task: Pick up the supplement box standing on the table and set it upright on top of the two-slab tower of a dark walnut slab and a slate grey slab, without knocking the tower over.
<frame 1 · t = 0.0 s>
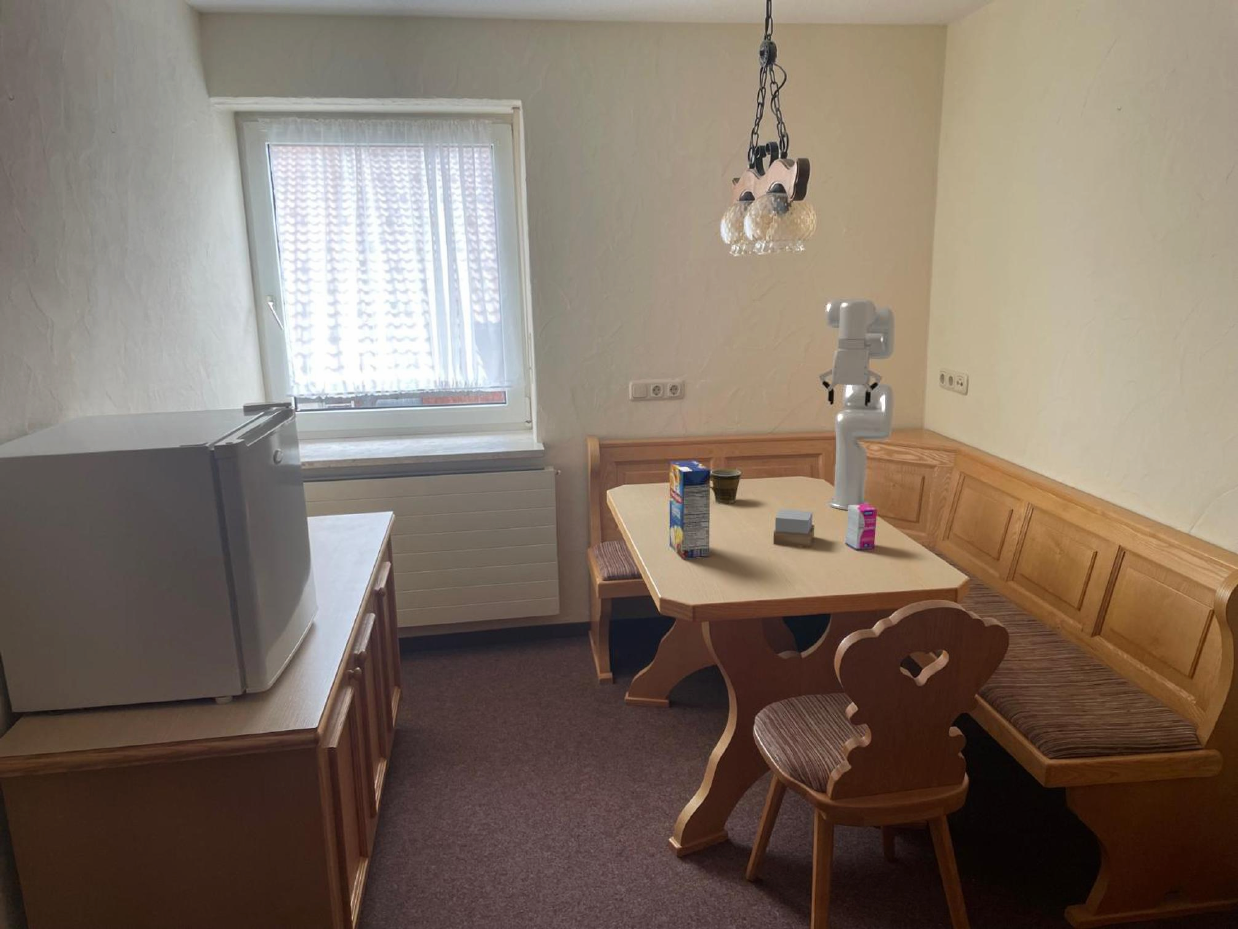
hand: (848, 404, 231), 37 cm above the table, tool pointing down, fingers open, 9 cm apart
tower base slab: (793, 541, 226), on the table, touching tower top slab
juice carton: (688, 551, 218), on the table
ceramic cup: (720, 501, 268), on the table
tower top slab: (793, 528, 225), point 4 cm above the table, touching tower base slab
supplement box: (859, 547, 220), on the table
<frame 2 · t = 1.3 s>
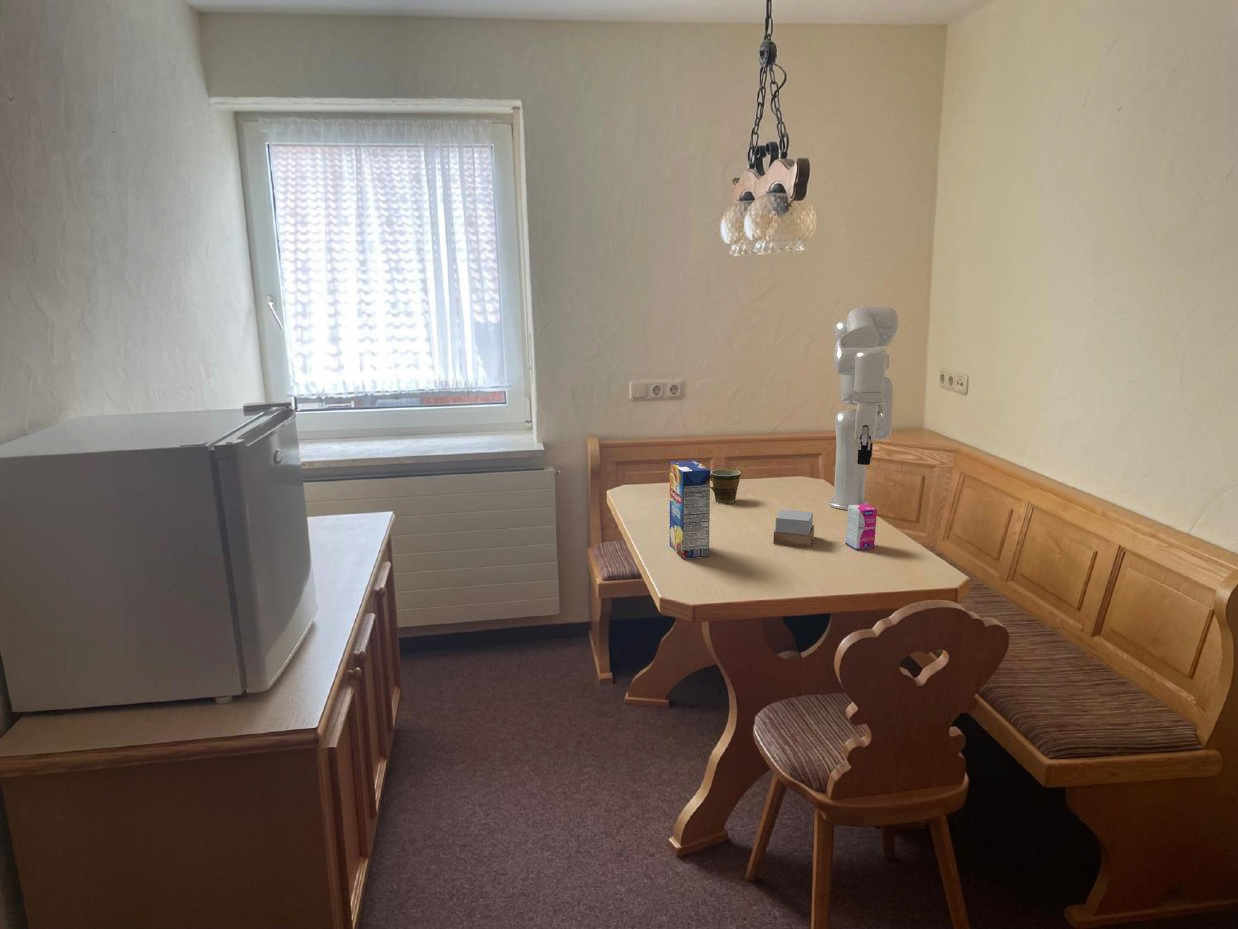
hand: (864, 460, 215), 24 cm above the table, tool pointing down, fingers open, 9 cm apart
nothing on the table moved.
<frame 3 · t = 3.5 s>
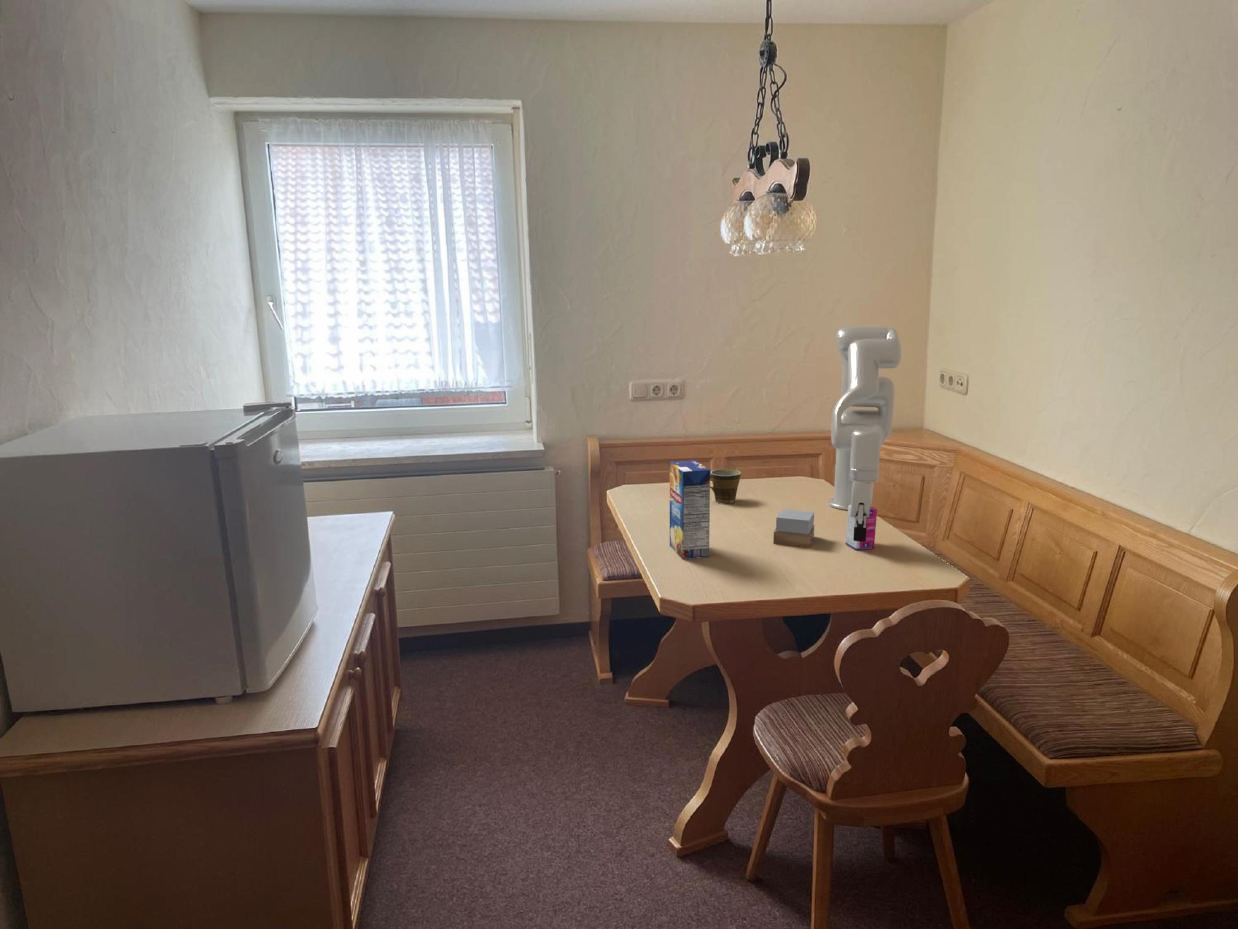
hand: (860, 536, 220), 3 cm above the table, tool pointing down, fingers closed on supplement box, 7 cm apart
supplement box: (859, 547, 220), on the table, touching gripper
everything else where it was.
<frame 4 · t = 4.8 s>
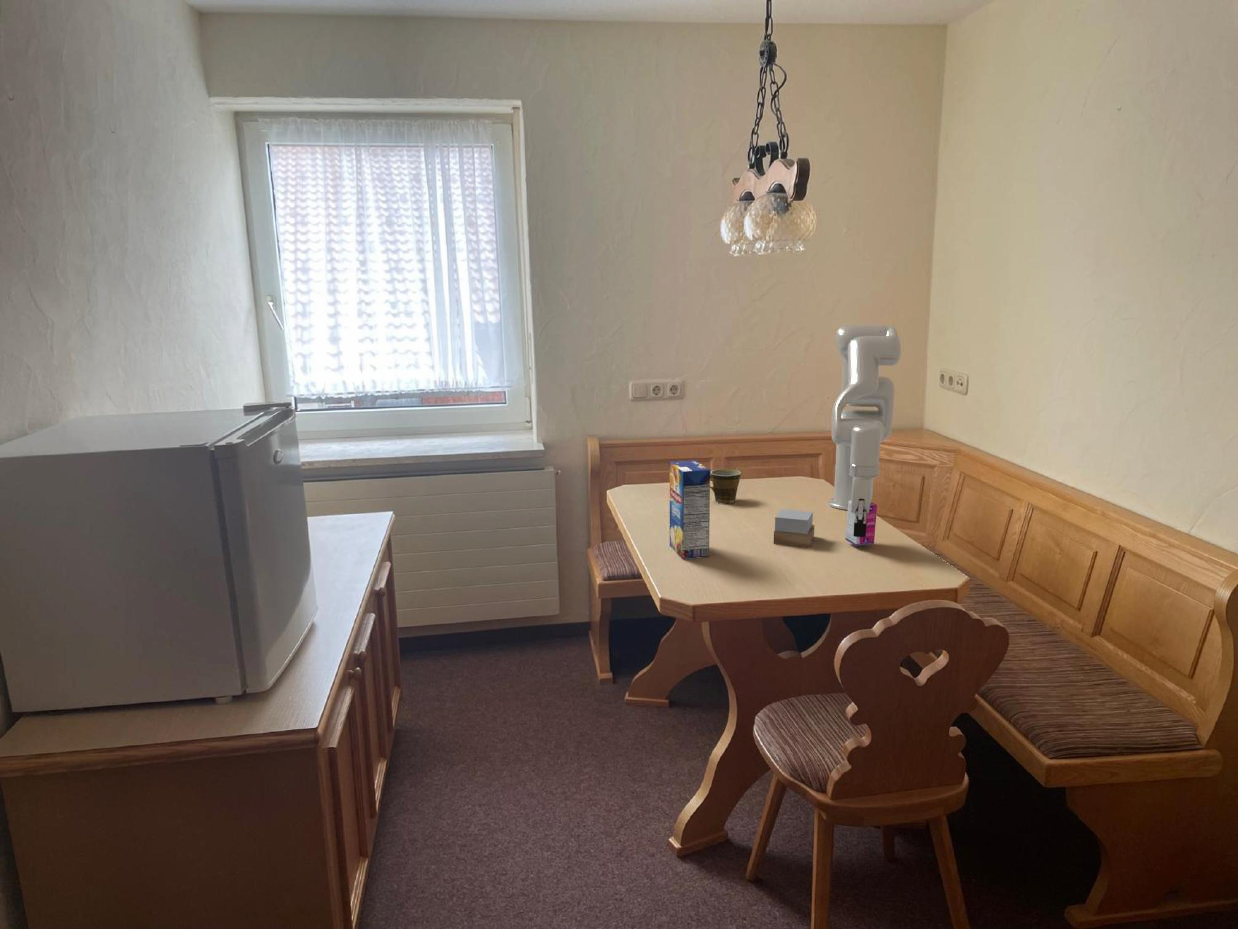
hand: (860, 531, 220), 4 cm above the table, tool pointing down, fingers closed on supplement box, 7 cm apart
supplement box: (859, 542, 221), point 1 cm above the table, touching gripper
everything else where it was.
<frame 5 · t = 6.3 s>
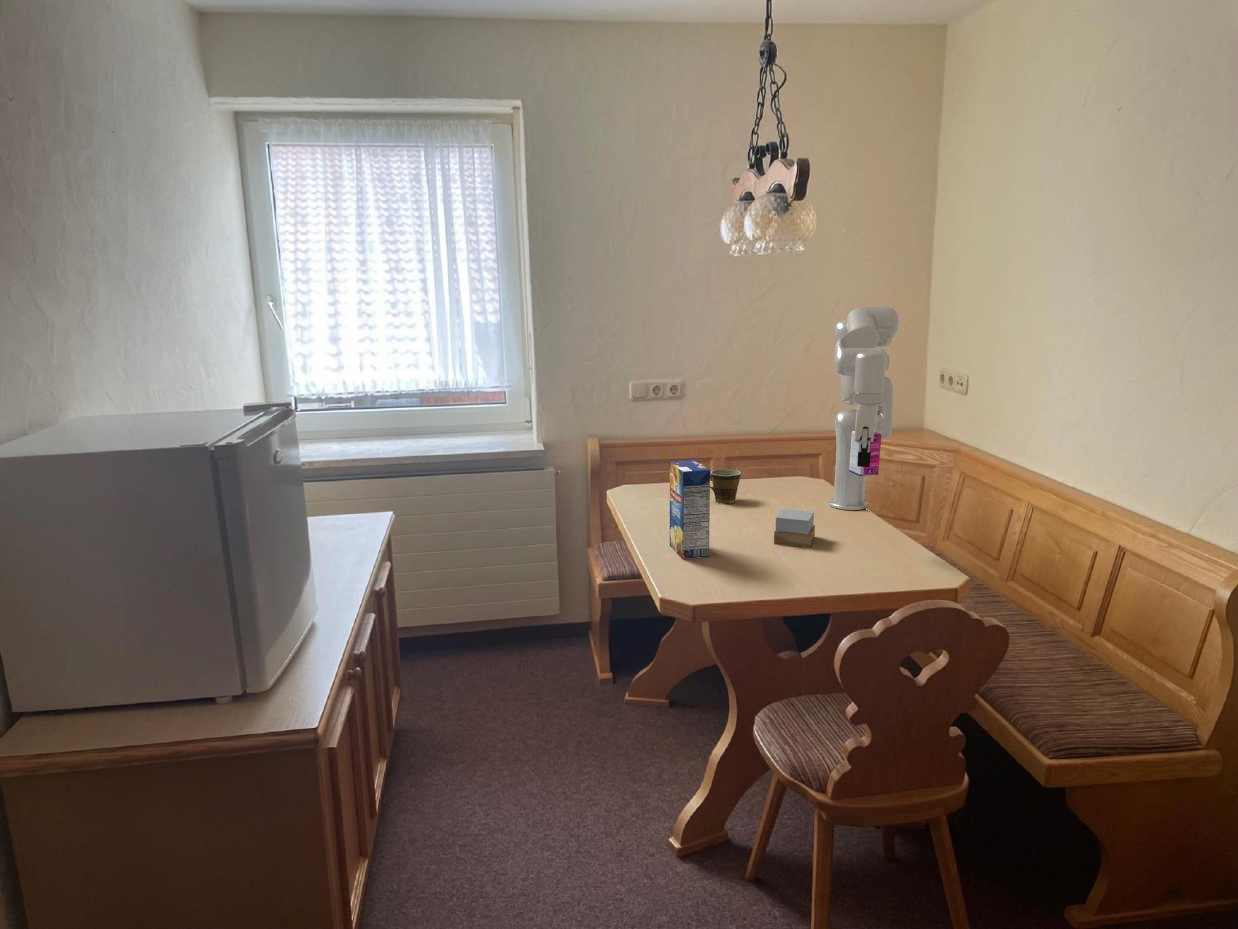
hand: (864, 462, 215), 24 cm above the table, tool pointing down, fingers closed on supplement box, 7 cm apart
supplement box: (863, 474, 216), point 20 cm above the table, touching gripper
everything else where it was.
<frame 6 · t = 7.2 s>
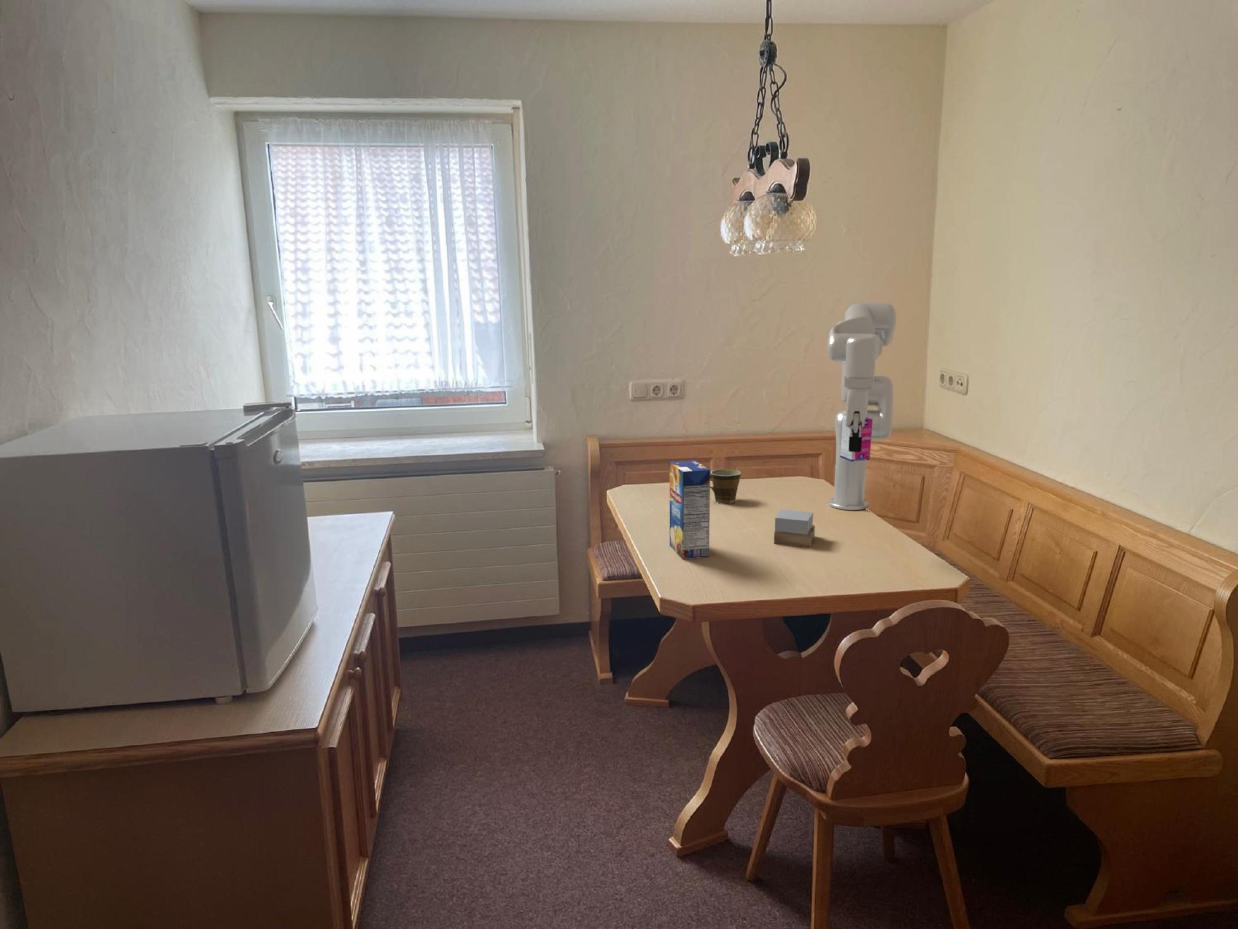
hand: (855, 448, 215), 28 cm above the table, tool pointing down, fingers closed on supplement box, 7 cm apart
tower base slab: (794, 542, 227), on the table
tower top slab: (793, 528, 226), point 3 cm above the table
supplement box: (855, 459, 216), point 24 cm above the table, touching gripper
everything else where it was.
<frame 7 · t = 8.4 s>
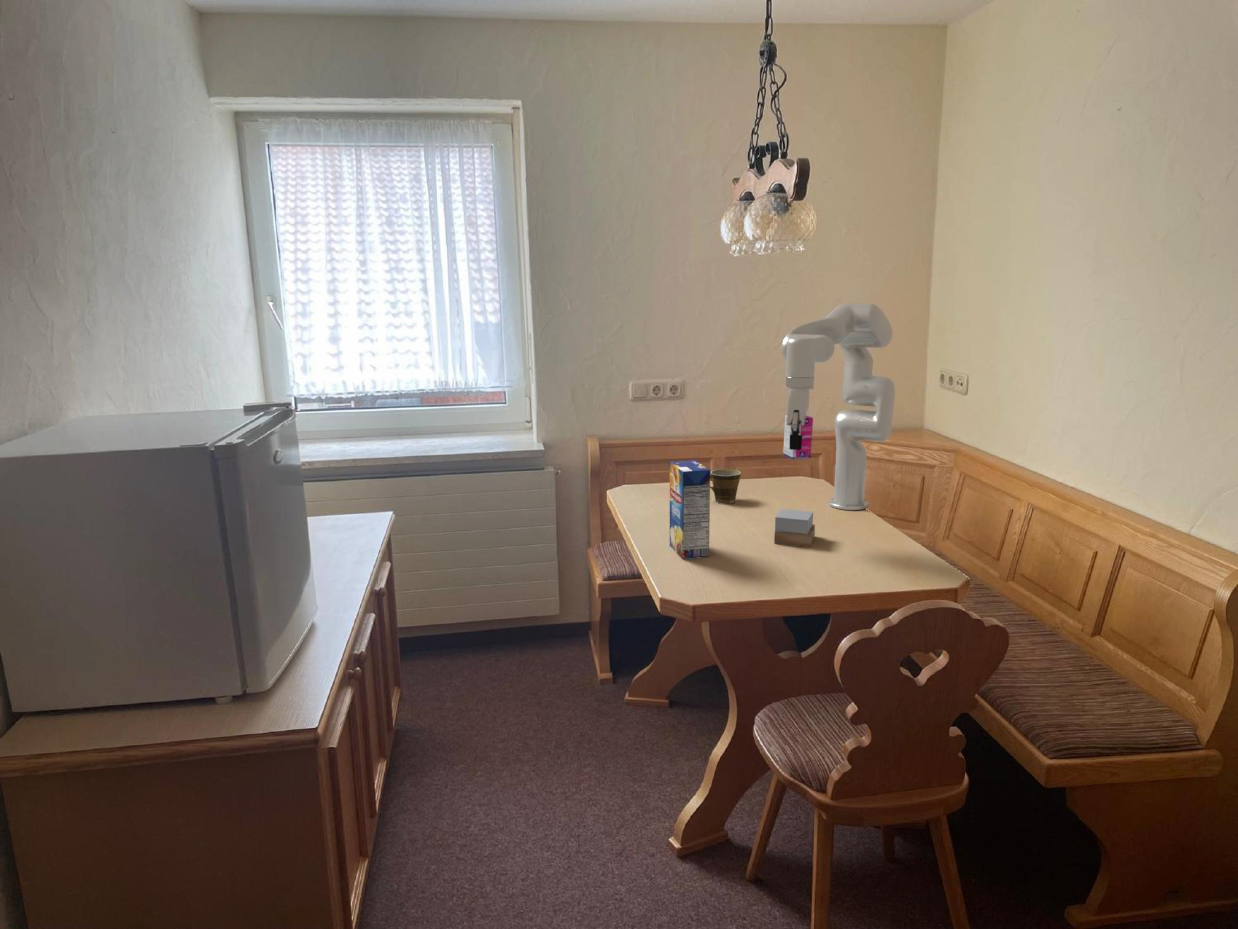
hand: (797, 446, 220), 27 cm above the table, tool pointing down, fingers closed on supplement box, 7 cm apart
tower base slab: (794, 541, 227), on the table, touching tower top slab
tower top slab: (794, 527, 226), point 4 cm above the table, touching tower base slab
supplement box: (797, 457, 221), point 24 cm above the table, touching gripper
everything else where it was.
when the fingers open (12 cm above the table, at t = 12.1 s): supplement box drops 2 cm, resting on tower top slab.
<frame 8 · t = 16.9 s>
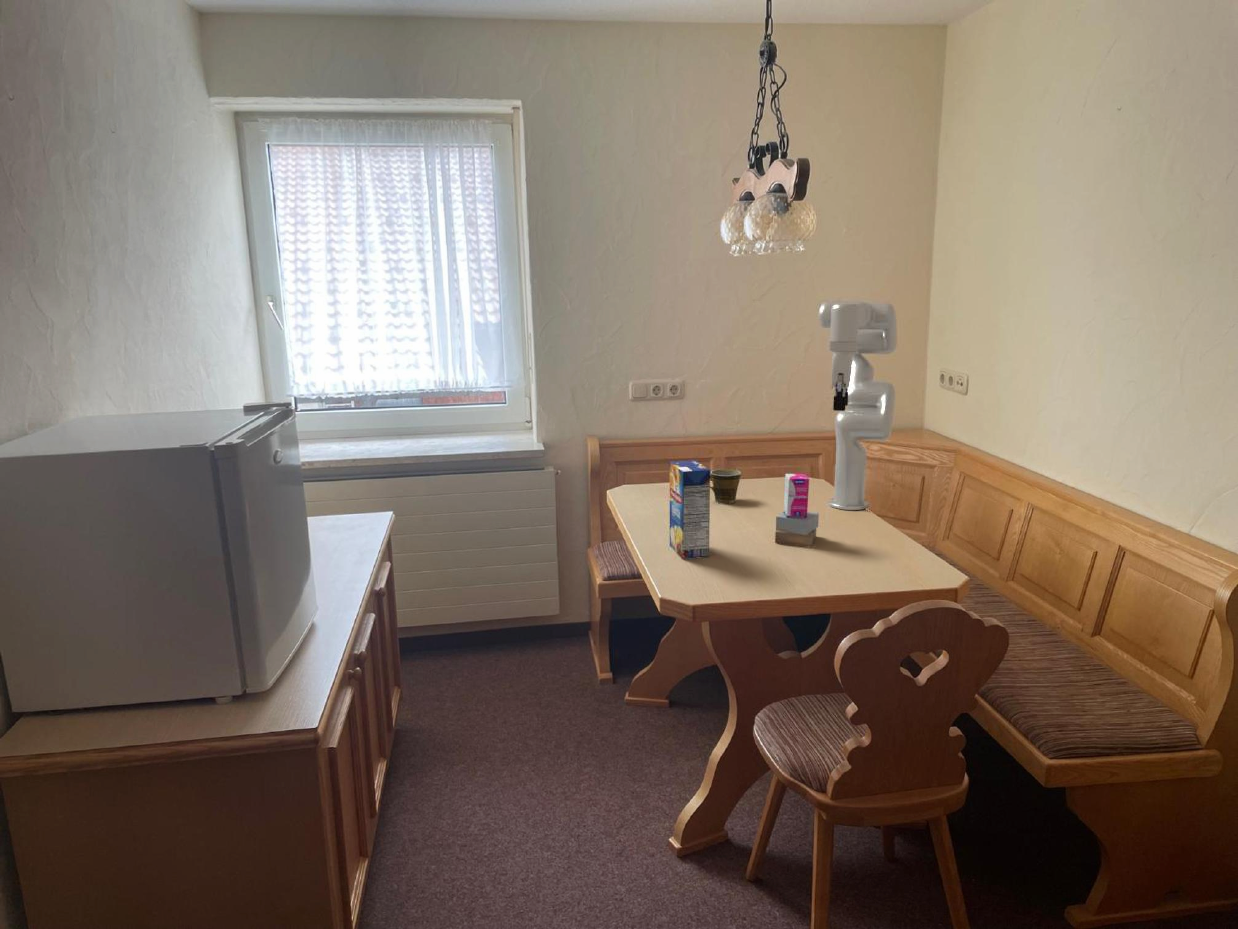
hand: (840, 407, 228), 36 cm above the table, tool pointing down, fingers open, 9 cm apart
tower top slab: (797, 528, 226), point 3 cm above the table, touching supplement box, tower base slab
supplement box: (795, 516, 225), point 7 cm above the table, touching tower top slab
everything else where it was.
at the end: supplement box 0.6 cm off-centre on the tower base slab, point 7.8 cm above the tower base slab's base; supplement box tilted 0°; tower base slab moved 1.0 cm from its start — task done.
